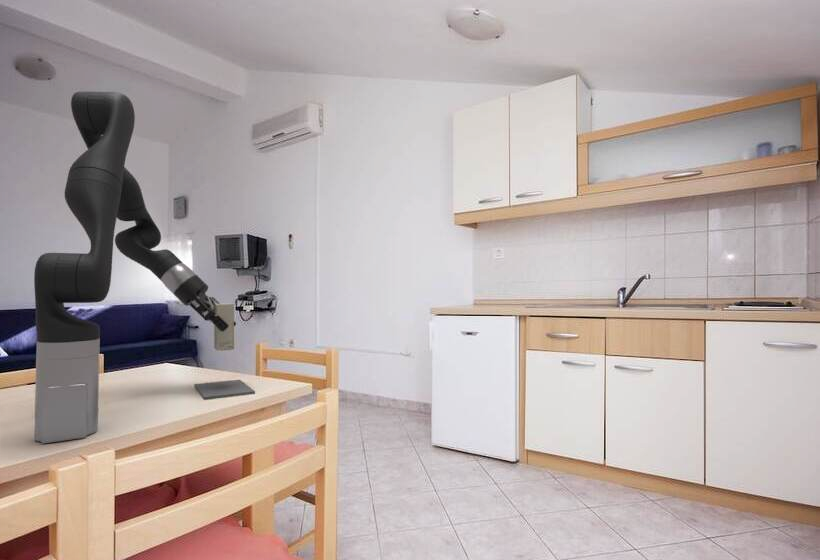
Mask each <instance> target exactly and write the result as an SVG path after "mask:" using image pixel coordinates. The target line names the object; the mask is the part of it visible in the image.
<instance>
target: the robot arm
mask: <svg viewBox="0 0 820 560" xmlns="http://www.w3.org/2000/svg"><path fill="white" fill-rule="evenodd" d="M70 100H71V102H70V108H71V113H72V116H73V120H74V122H75V125H76V127H77V130H78V131H79V134H80V136H81V138H82V140H83V142H84V144H85V145H86V147H87V150H85V151H84V152H83V153H82V154H81V155H80V156H78V157H77V158H76V160H74V162H73V163H72V164H71V166H70V167H69V170H68V175H67V178H66V183H65V189H64V199H65V202H66V204H67V206H68V208H69V210H70V211H71V212H72V214H73V216H74V217H75V218H76V220H77V221H78V222H79V224H80V225H81V226H82V229H84V231H85V233H86V235H87V237H88V239H89V241H90V242H89V243H90V250H89V252H88V253H77V252H76V253H73V252H46V253H43V254H40V256H39V257H38V259H37V260H36V263H35V267H34V275H33V276H34V277H33V278H34V280H33V281H34V286H33V287H34V300H35V301H34V302H35V303H34V304H35V331H36V351H35V352H36V354H35V357H36V358H35V390H34V391H35V392H34V393H35V394H34V434H33V435H34V436H33V437H34V438H33V440H34V441H36V442H41V444H42V445H43V444H49V443H55V442H56V443H57V442H62V441H69V440H75V439H76V440H78V439H85V438H87V437H88V436H89V435H92V434H94V433H96V432H97V431H98V430H99V396H100V395H99V393H100V392H99V391H100V390H99V389H100V388H99V385H100V383H99V381H100V376H99V375H100V346H101V344H100V342H101V341H100V340H101V339H100V338H101V327H100V325H99V324H98V323H96V322H94V321H91V320H90V321H89V320H88V319H83V318H80V317H77V316H75V315H73V314H72V313H70V312H68V310H66V308H65V305H64V304H81V303H82V304H86V303H87V304H88V303H90V304H91V303H101V302H103V301H104V300H105V299H106V298H107V297H108V294H109V291H110V287H111V281H112V272H113V271H112V270H113V251H114V243H115V246H116V248H117V249H118V251H119V252H120V253H121V254H122V255H124V256H125V257H126V258H128V259H130V260H131V261H133V262H135V263H137V264H139V265H140V266H142V267H144V268H146V269H148V270H149V271H150V272H152V274H154V275H155V276H156V278H157V279H159V281H161V282H162V283H163V285H164V286H165V288H167V289H168V290H169V291H170V293H172V294H173V295H174V296H175V297H176V298H177V299H178V300H179V301H180V303H182V305H184V306H187V307H188V306H190V307H191V308H192V309H193V310H194V311H195V312H196V313H197V314H198V315H200V316H201V317H202V318H203V320H204V321H208V322H209V323H213V326H214V325H215V326H216V327H217V328H218V329H219V330H221V331H225V330H226V329H227V328H228V326H229V325H228V324H227V323H226V322H225V321H224V320H223V319H222V318H221V317H220V316H218V314H217V313H216V311H215V310H216V308H215V306H214V304H221V303H220V302H219V301H218V300H217V299H216V298H215V296H214V297H213V296H208V295H207V294H206V293H207V292H208V290H209V285H207V283H205V282H204V281H203V279H202V278H201V277H199V275H198V274H196V273H195V272H194V270H192V269H191V268H190V267H189V266H187V265H186V264H185V263H183V262H182V261H181V260H180V258H179V257H178V256H176V254H175V253H173V252H172V251H171V250H170V249H167V248H165V249H159V250H152V249H154V248H156V247H157V246H159V244H160V243H161V240H162V234H161V231H160V229H159V228H158V226H157V225H156V223H155V221H154V220H153V218H152V216H151V215H150V213H149V211H148V209H147V208H146V207H147V206H146V204H145V200H144V197H143V192H142V190H141V187H140V184H139V182H138V181H137V179H136V177H134V175H133V174H132V173H131V172H130V171H129V170H128V169H127V168H126V167H125V165H126V159H127V155H128V150H129V147H130V143H131V140H132V137H133V133H134V129H135V120H136V119H135V117H136V116H135V109H134V108H135V107H134V105H133V102H132V101H131V99H130V98H129V97H128V96H127V95H126V94H124V93H121V92H118V91H117V92H116V91H90V90H89V91H84V90H83V91H76V92H75V93H73V95H72V96H71V99H70ZM117 219H118V220H120V221H122V222H135V223H134V224H135V225H133V226H131V227H129V228H126V229H124V230H121V231H119V232H117V234H116V235H115V229H116V223H117ZM217 316H218V317H217ZM236 325H237V323H236V321H235V320H234V327H235V326H236Z"/></svg>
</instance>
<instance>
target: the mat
mask: <svg viewBox="0 0 820 560" xmlns="http://www.w3.org/2000/svg"><path fill="white" fill-rule="evenodd" d="M193 385H194V388H195V389H196V390H197V392H198V394H199V395H200V396H201V397H202V399H203V400H204V401H205V400H212V399H213V400H214V399H222V398H230V397H231V398H232V397H236V396H237V397H238V396H245V395H255V394H256V391H255V390H254V389H253V388H252V387H250V386H249V385H248V384H246V383H245V382H243V380H241V379H231V380H224V381H223V380H222V381H214V382H202V383H195V384H193Z"/></svg>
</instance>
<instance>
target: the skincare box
mask: <svg viewBox="0 0 820 560" xmlns="http://www.w3.org/2000/svg"><path fill="white" fill-rule="evenodd" d="M214 306H215V308H216V310H215V311H216V313H217V314H218V316H220V317H221V318H222V319H223V320H224V321H225V322H226V323H227V324H228V325H229V326H228V328H227V329H226V330H225V331H221V330H219V329H218V328H217V327H216V326H215V325H214V324H213V329H214V330H213V332H214V333H213V334H214V335H213V338H214V339H213V342H214V343H213V344H214V346H213V348H214V350H215V351H232V350H235V326H234V321H235V303H220V304H214ZM218 316H217V317H218Z"/></svg>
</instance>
